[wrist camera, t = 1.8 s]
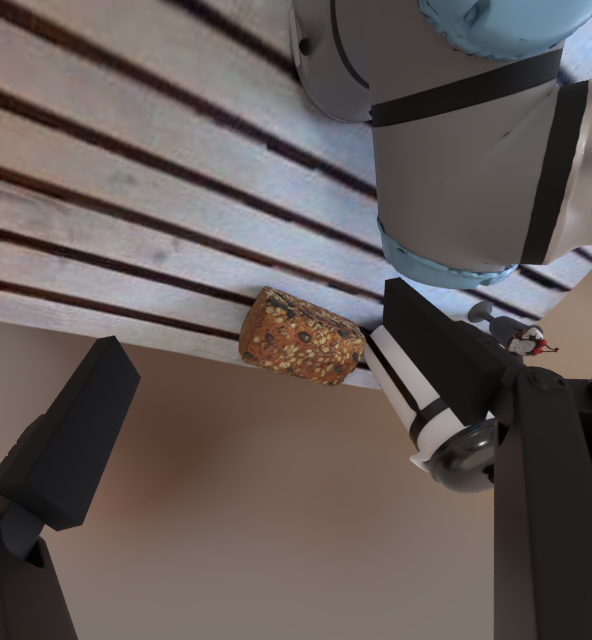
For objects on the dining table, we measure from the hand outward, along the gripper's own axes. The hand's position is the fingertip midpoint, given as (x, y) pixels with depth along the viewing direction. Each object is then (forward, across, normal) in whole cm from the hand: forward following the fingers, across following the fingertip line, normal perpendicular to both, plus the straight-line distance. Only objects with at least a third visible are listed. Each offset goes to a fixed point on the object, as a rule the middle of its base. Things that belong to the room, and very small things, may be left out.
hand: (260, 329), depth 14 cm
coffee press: (+29, +23, -27) cm, 46 cm away
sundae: (+29, +42, -26) cm, 57 cm away
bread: (+29, +5, -20) cm, 35 cm away
